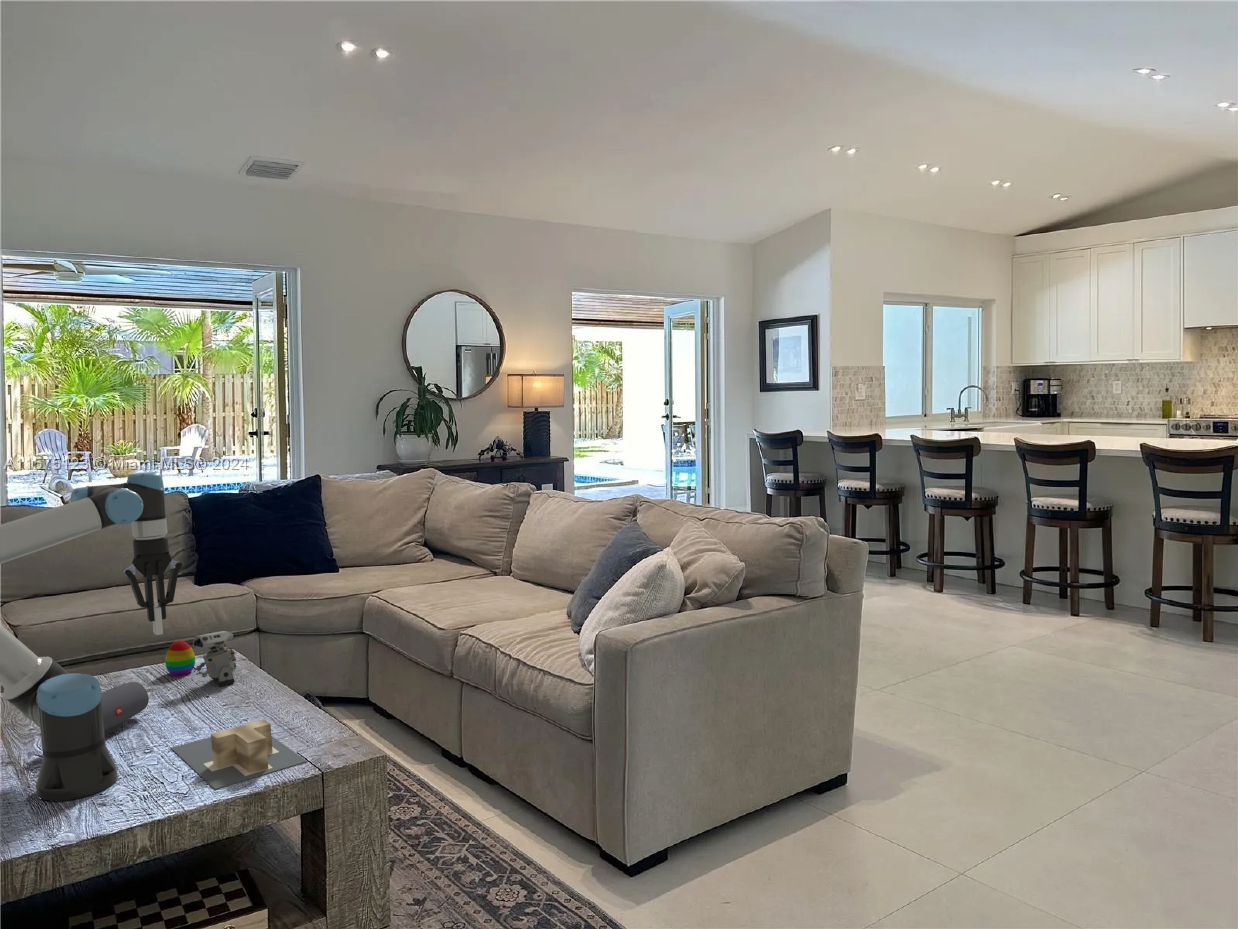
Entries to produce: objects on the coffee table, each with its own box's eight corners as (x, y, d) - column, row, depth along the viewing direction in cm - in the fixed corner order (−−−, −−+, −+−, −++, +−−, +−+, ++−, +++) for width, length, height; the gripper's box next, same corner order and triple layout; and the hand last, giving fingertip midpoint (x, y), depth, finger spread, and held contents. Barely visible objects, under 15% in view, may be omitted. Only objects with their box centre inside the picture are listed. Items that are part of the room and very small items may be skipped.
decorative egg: (160, 677, 277) (157, 644, 276) (177, 668, 285) (175, 636, 284) (185, 677, 275) (182, 644, 274) (201, 669, 283) (199, 637, 282)
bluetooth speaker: (86, 751, 220) (82, 710, 219) (52, 750, 221) (49, 709, 221) (152, 717, 242) (149, 680, 241) (121, 716, 244) (118, 679, 243)
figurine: (190, 684, 268) (186, 633, 267) (232, 675, 275) (228, 626, 274) (198, 692, 261) (194, 640, 260) (240, 682, 268) (236, 632, 267)
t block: (231, 779, 200) (229, 748, 199) (213, 763, 209) (210, 733, 208) (286, 763, 208) (284, 732, 207) (266, 748, 217) (264, 719, 216)
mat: (215, 789, 195) (214, 788, 195) (171, 748, 219) (171, 747, 219) (307, 761, 208) (307, 761, 208) (256, 725, 232) (256, 725, 232)
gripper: (174, 531, 228) (182, 625, 230) (116, 539, 219) (124, 636, 222) (183, 534, 222) (191, 630, 224) (124, 542, 214) (132, 642, 216)
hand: (158, 633), depth 223 cm, fingers closed
